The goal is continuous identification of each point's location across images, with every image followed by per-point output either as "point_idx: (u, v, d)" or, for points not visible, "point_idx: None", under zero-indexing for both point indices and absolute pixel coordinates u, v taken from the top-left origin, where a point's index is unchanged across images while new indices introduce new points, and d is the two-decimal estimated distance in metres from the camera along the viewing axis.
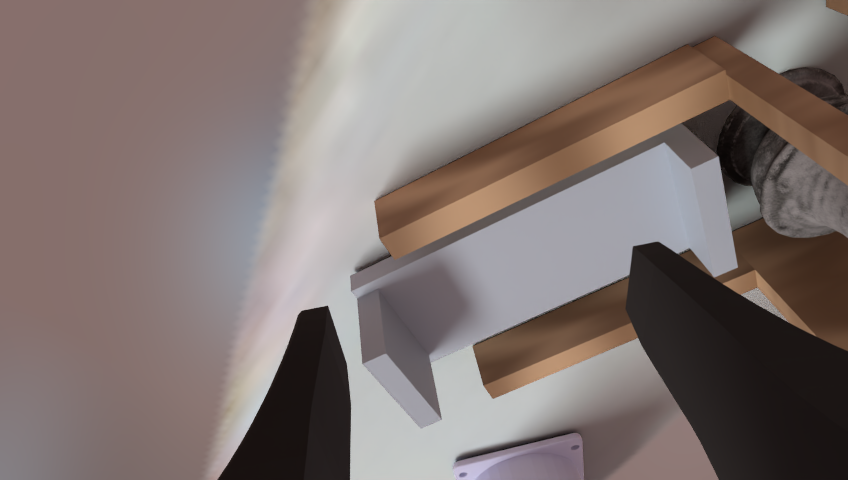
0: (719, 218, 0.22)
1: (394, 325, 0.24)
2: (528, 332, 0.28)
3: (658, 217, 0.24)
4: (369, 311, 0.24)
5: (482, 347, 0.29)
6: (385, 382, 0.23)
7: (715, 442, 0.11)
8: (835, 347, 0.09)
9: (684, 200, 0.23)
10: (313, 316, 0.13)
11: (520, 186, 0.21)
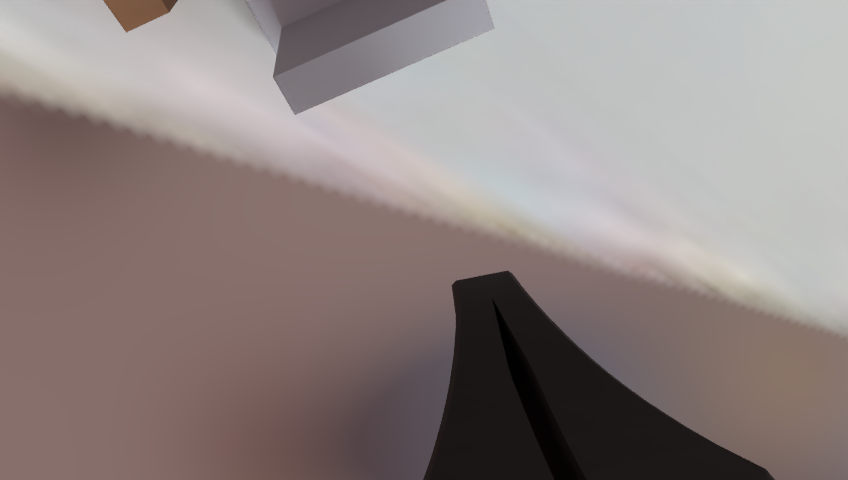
0: None
1: (322, 21, 0.15)
2: None
3: None
4: None
5: None
6: (347, 82, 0.13)
7: None
8: (626, 390, 0.09)
9: None
10: (472, 285, 0.13)
11: None
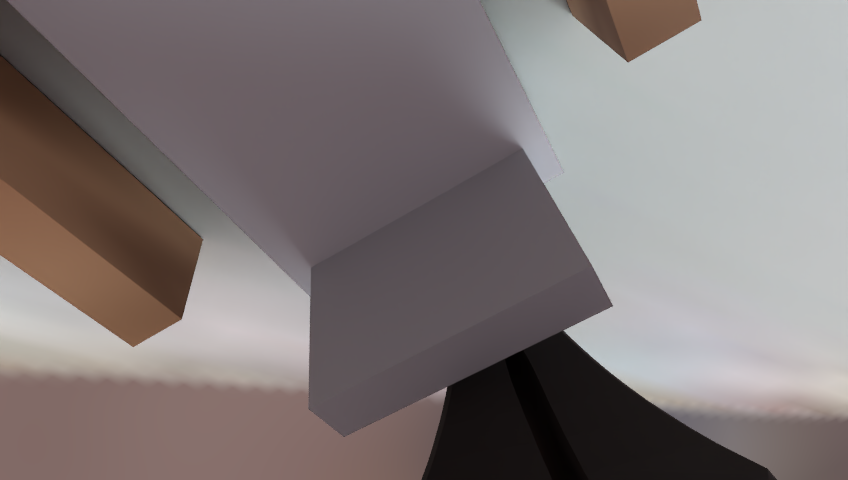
0: None
1: (363, 275, 0.11)
2: None
3: None
4: None
5: None
6: (410, 395, 0.10)
7: None
8: (627, 390, 0.09)
9: None
10: None
11: None
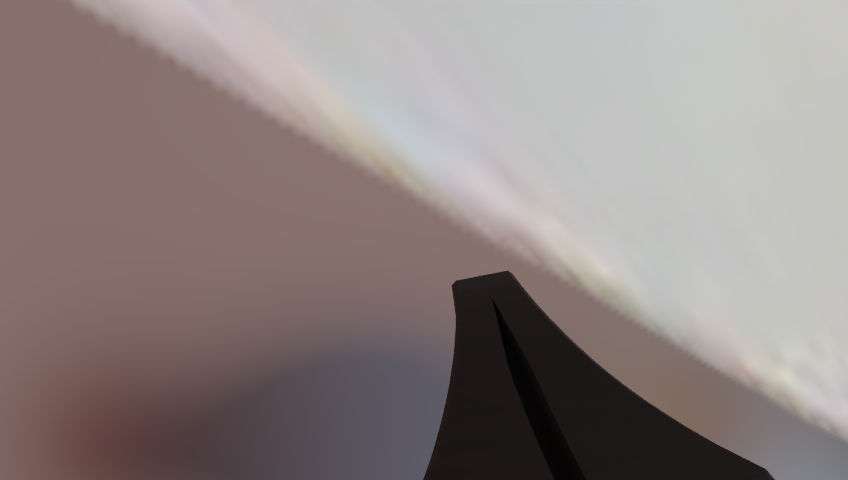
0: None
1: None
2: None
3: None
4: None
5: None
6: None
7: None
8: (626, 390, 0.09)
9: None
10: (473, 285, 0.13)
11: None
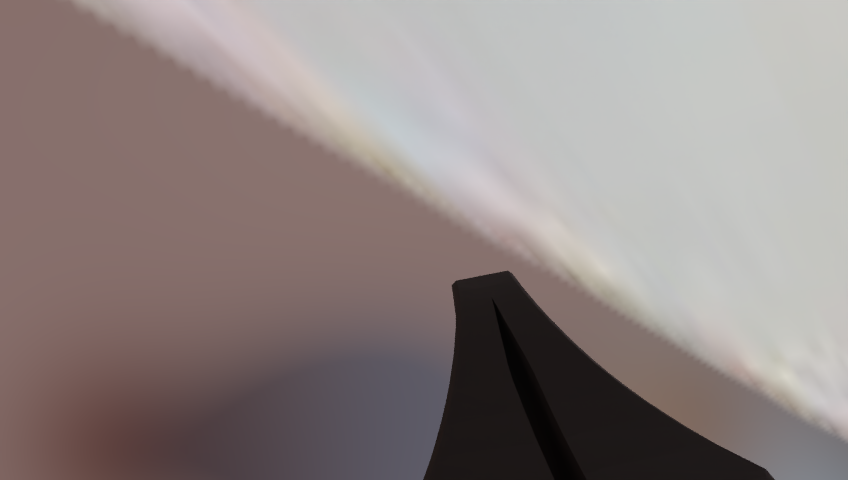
0: None
1: None
2: None
3: None
4: None
5: None
6: None
7: None
8: (626, 390, 0.09)
9: None
10: (473, 285, 0.13)
11: None
